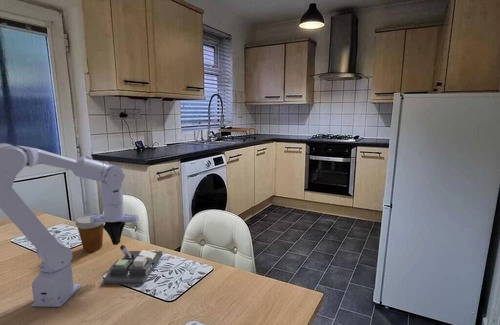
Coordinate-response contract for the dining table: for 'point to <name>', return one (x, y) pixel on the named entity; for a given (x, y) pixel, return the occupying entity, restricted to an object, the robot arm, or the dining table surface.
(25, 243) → the dining table surface
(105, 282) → the panel
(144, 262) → the button
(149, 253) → the rocker
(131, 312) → the dining table surface
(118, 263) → the button
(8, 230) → the dining table surface
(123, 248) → the toggle lever
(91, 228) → the disposable coffee cup
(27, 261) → the dining table surface
